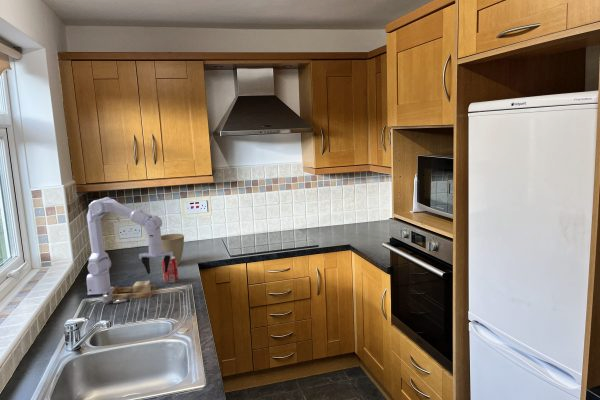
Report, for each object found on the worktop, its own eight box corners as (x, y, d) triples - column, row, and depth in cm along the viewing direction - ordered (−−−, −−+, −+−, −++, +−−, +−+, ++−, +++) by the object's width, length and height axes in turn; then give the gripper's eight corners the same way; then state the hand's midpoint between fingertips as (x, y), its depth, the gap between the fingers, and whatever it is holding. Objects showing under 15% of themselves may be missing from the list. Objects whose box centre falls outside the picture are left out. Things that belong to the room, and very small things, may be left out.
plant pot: (188, 260, 258) (186, 232, 255) (183, 268, 243) (181, 239, 240) (161, 261, 257) (159, 234, 254) (155, 269, 242) (152, 240, 239)
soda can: (172, 278, 227) (171, 255, 225) (181, 280, 222) (179, 257, 220) (160, 282, 221) (158, 258, 220) (169, 284, 217) (167, 260, 215)
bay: (109, 299, 200) (108, 293, 200) (116, 291, 210) (115, 285, 210) (151, 297, 202) (150, 290, 201) (156, 289, 212) (155, 283, 211)
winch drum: (102, 304, 195) (101, 293, 194) (105, 300, 199) (104, 290, 198) (111, 303, 196) (110, 293, 195) (114, 300, 200) (113, 289, 199)
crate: (133, 296, 203) (132, 286, 202) (137, 291, 209) (136, 281, 208) (147, 295, 203) (146, 285, 203) (151, 291, 210) (150, 280, 209)
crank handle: (113, 304, 195) (112, 298, 195) (113, 303, 196) (112, 297, 196) (129, 301, 198) (129, 296, 197) (129, 300, 199) (129, 295, 199)
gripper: (136, 246, 199) (139, 276, 201) (169, 244, 200) (172, 274, 202) (140, 242, 206) (142, 271, 208) (172, 241, 207) (175, 269, 209)
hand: (157, 272), depth 206 cm, fingers open, 7 cm apart
